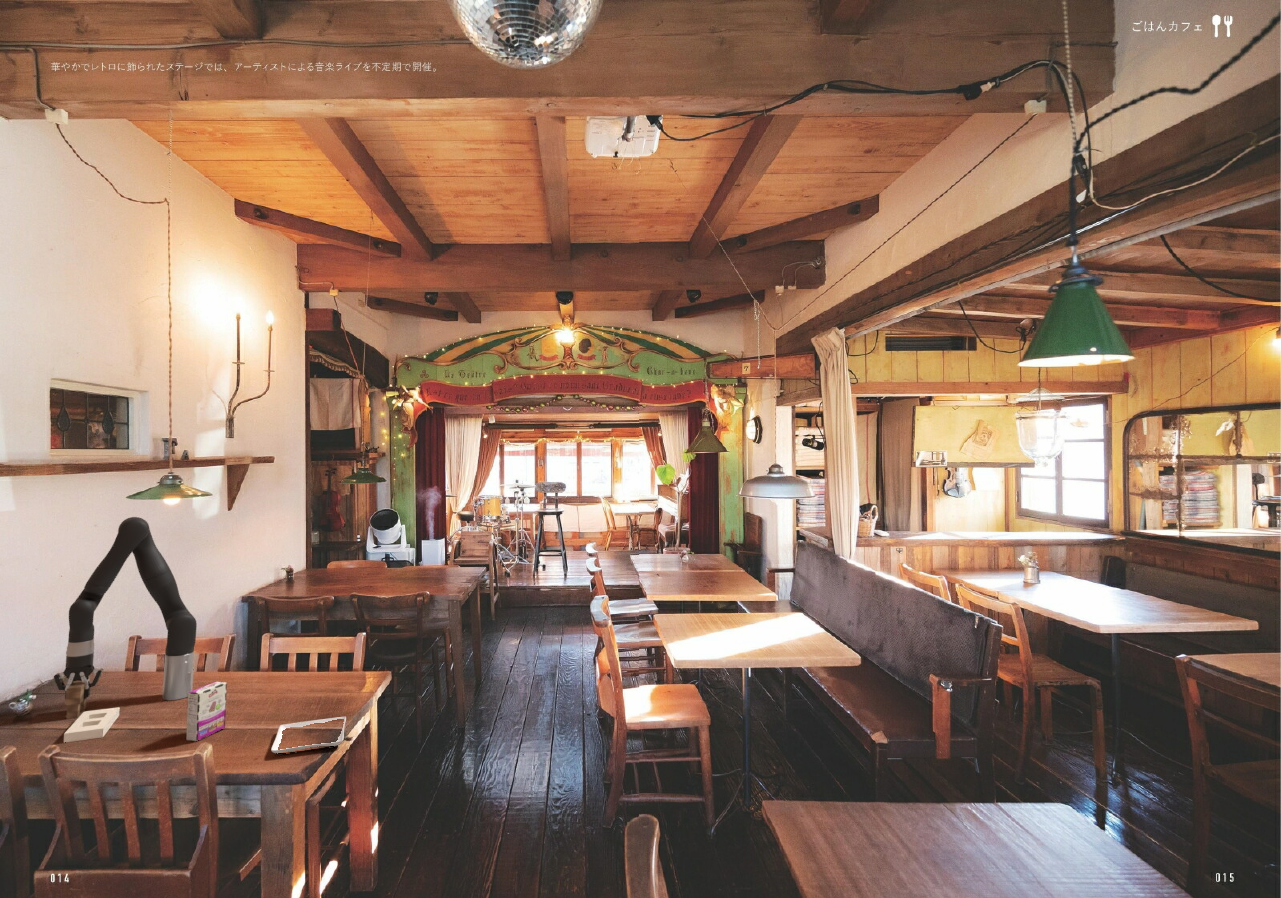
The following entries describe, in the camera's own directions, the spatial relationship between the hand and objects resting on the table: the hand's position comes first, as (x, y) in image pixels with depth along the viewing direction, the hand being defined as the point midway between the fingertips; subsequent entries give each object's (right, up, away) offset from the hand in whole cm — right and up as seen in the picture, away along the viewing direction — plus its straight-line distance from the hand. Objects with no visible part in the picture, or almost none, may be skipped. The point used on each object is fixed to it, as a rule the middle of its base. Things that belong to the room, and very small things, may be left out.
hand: (77, 699), depth 224 cm
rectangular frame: (+95, -9, -15) cm, 96 cm away
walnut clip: (0, -5, 0) cm, 5 cm away
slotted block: (+16, -5, -12) cm, 21 cm away
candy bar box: (+57, -7, -13) cm, 59 cm away
